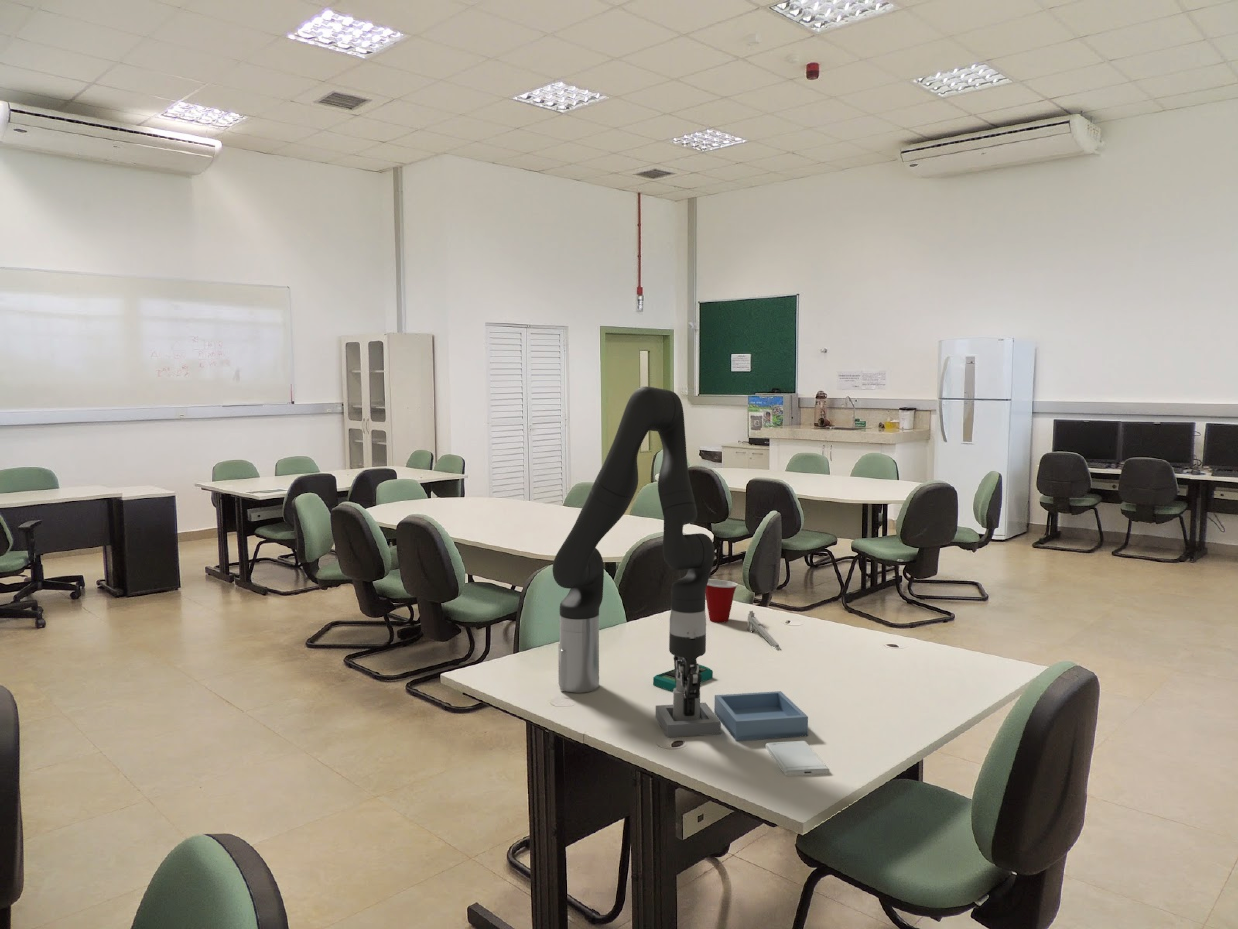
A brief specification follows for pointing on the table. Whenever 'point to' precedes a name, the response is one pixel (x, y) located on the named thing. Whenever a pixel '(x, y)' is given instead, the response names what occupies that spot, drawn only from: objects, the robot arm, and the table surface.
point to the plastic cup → (719, 599)
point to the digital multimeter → (668, 678)
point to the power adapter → (679, 703)
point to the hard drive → (796, 758)
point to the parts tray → (760, 716)
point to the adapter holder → (688, 722)
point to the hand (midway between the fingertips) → (686, 711)
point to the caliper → (760, 630)
